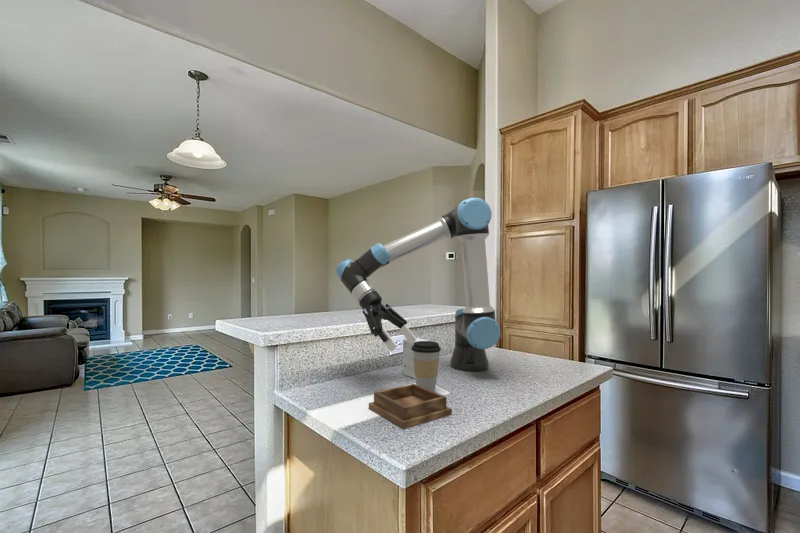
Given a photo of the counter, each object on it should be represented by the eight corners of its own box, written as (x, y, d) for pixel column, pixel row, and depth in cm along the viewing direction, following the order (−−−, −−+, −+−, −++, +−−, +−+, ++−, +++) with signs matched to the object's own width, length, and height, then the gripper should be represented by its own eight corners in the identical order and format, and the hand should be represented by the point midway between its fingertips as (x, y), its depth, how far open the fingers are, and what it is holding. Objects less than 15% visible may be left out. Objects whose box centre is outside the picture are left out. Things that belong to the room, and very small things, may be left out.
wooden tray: (414, 397, 110) (414, 382, 110) (451, 414, 97) (451, 397, 97) (368, 408, 101) (368, 392, 101) (403, 429, 88) (403, 410, 88)
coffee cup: (438, 396, 111) (439, 347, 111) (408, 394, 113) (409, 345, 113) (441, 387, 120) (442, 341, 121) (413, 384, 122) (414, 339, 123)
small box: (429, 376, 132) (430, 340, 132) (415, 379, 128) (416, 342, 129) (415, 371, 139) (416, 337, 139) (402, 374, 135) (402, 338, 135)
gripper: (379, 301, 140) (414, 345, 132) (338, 306, 118) (376, 359, 110) (392, 288, 137) (427, 332, 130) (352, 291, 115) (392, 344, 108)
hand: (404, 345), depth 120 cm, fingers open, 13 cm apart
